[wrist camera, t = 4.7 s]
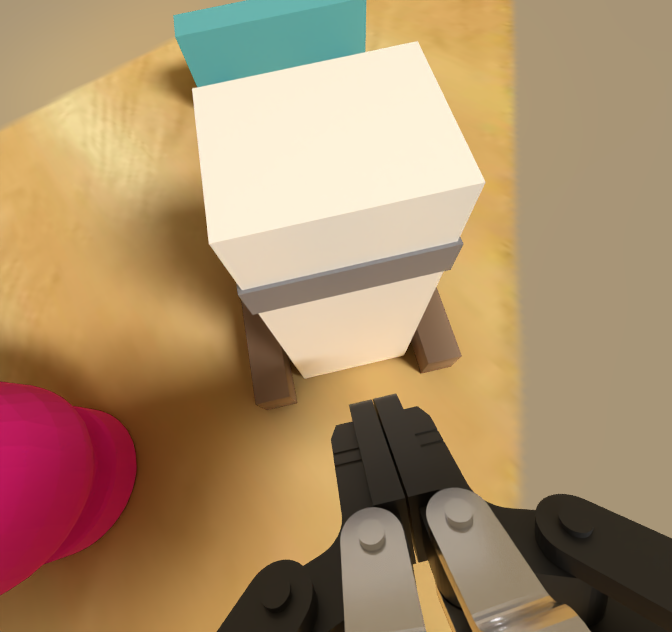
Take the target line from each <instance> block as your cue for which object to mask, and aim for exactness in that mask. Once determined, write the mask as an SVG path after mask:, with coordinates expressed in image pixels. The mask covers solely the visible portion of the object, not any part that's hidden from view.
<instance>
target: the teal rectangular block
mask: <svg viewBox="0 0 672 632" xmlns="http://www.w3.org/2000/svg"><path fill="white" fill-rule="evenodd" d="M174 27H175V37H176V40H177V42H178V44H179V46H180V49H181V51H182V53H183V56H184V58H185V60H186V62H187V65H188V67H189V69H190V72H191V74H192V76H193V78H194V81H195V83H196V85H197V88H198V87H202V86H207V85H212V84H217V83H221V82H226V81H231V80H236V79H240V78H245V77H250V76H255V75H259V74H264V73H269V72H274V71H278V70H283V69H288V68H293V67H297V66H302V65H307V64H312V63H316V62H321V61H326V60H331V59H335V58H340V57H345V56H350V55H355V54H359V53H364V52H365V39H366V0H246V1H241V2H236V3H231V4H227V5H222V6H217V7H212V8H207V9H202V10H197V11H192V12H188V13H182V14H178V15H174Z"/></svg>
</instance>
